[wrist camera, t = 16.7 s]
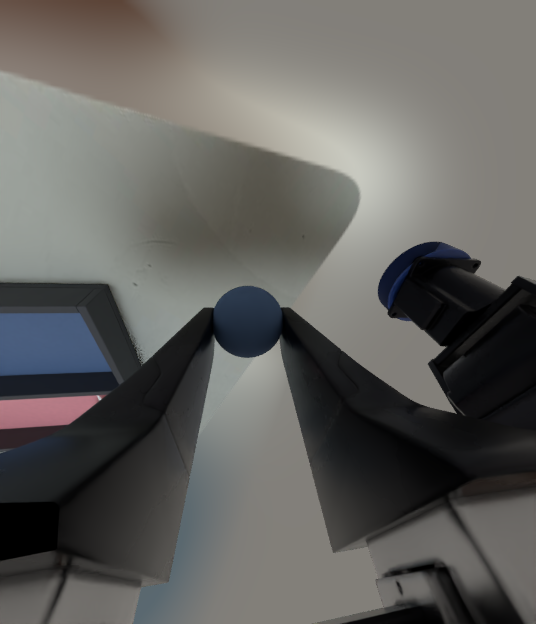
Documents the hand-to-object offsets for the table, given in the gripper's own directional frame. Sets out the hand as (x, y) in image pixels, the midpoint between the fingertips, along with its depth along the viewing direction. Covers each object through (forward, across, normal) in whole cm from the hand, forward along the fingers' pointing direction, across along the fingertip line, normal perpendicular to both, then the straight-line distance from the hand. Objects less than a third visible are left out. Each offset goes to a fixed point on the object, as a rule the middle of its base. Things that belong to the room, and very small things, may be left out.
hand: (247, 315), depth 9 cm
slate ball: (0, 0, 0) cm, 0 cm away
